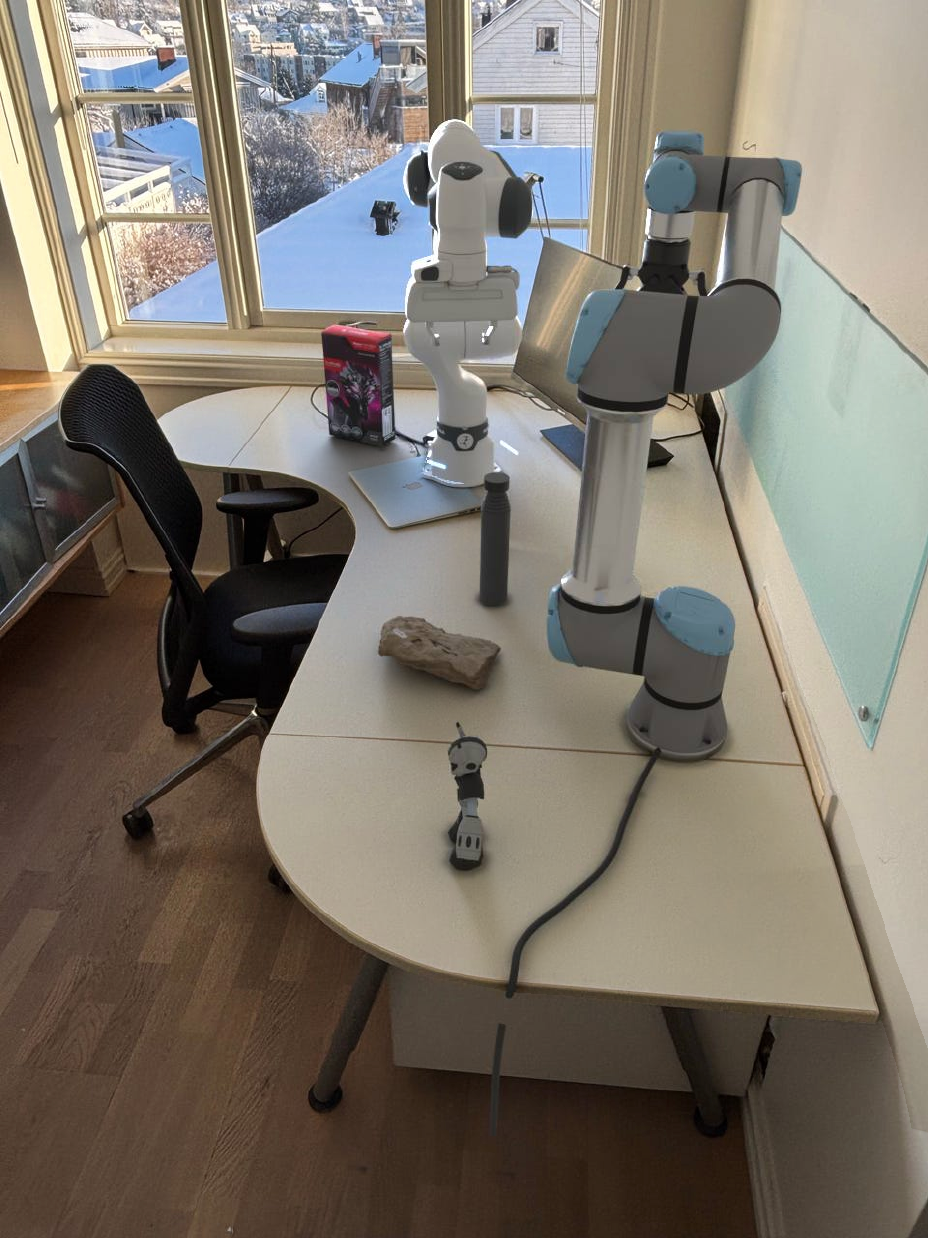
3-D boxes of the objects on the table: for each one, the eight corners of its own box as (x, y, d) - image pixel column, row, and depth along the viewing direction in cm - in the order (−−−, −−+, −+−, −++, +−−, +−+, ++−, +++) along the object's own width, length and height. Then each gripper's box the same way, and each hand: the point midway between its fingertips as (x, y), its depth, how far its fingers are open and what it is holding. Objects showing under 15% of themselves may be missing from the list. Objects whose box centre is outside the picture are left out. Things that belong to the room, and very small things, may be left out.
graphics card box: (326, 436, 238) (318, 330, 223) (342, 427, 243) (334, 322, 228) (383, 449, 231) (378, 340, 216) (397, 439, 237) (393, 333, 221)
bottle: (509, 593, 176) (514, 474, 162) (504, 608, 172) (508, 487, 158) (482, 590, 177) (485, 471, 163) (476, 604, 173) (479, 484, 159)
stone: (354, 663, 151) (360, 631, 149) (385, 632, 165) (392, 602, 162) (474, 706, 148) (483, 673, 145) (496, 671, 161) (504, 640, 159)
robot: (489, 905, 115) (493, 789, 104) (450, 907, 115) (450, 790, 104) (479, 793, 131) (482, 682, 120) (445, 794, 131) (445, 683, 120)
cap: (511, 483, 163) (511, 473, 162) (506, 494, 159) (507, 484, 158) (486, 480, 163) (486, 470, 162) (481, 491, 160) (481, 481, 159)
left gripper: (517, 261, 166) (514, 338, 173) (403, 263, 164) (405, 341, 171) (523, 269, 160) (519, 348, 168) (405, 271, 158) (407, 351, 166)
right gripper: (746, 237, 151) (725, 364, 163) (595, 227, 157) (585, 351, 169) (746, 246, 145) (723, 378, 157) (589, 236, 151) (578, 364, 163)
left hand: (461, 344), depth 170 cm, fingers open, 8 cm apart
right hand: (652, 364), depth 163 cm, fingers open, 13 cm apart
